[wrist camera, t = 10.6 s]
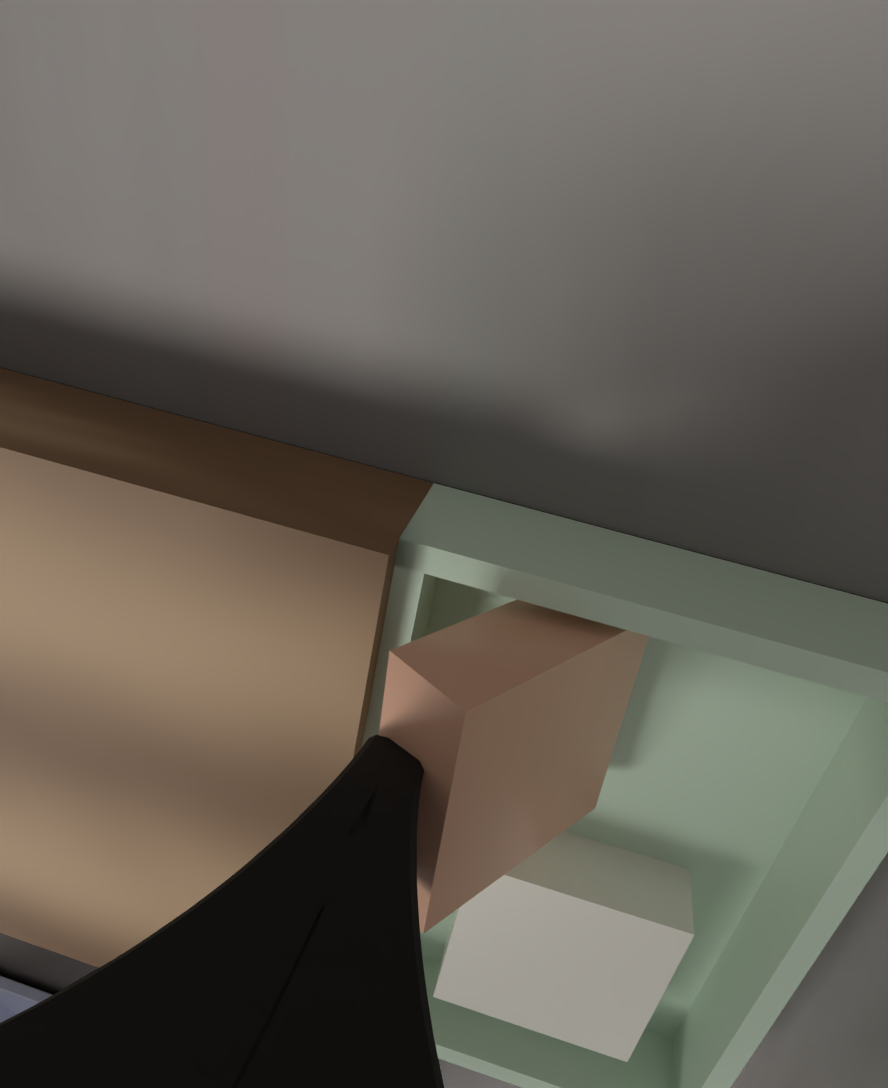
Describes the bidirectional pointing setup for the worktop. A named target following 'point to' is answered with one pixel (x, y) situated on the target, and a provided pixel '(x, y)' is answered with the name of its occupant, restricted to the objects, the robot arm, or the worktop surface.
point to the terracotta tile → (504, 738)
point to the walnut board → (171, 653)
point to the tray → (681, 768)
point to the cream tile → (572, 943)
